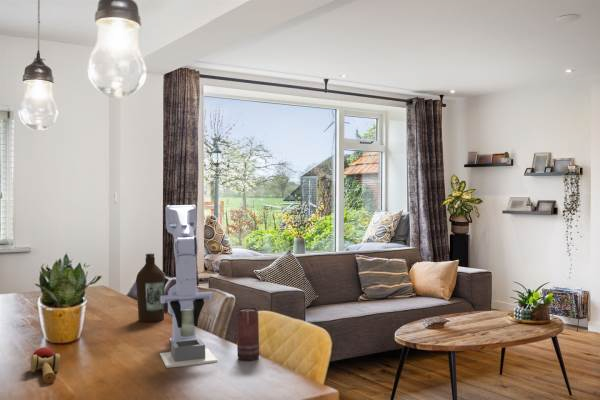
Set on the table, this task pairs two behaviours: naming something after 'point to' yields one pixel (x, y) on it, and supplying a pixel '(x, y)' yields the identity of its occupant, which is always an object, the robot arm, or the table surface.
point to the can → (247, 334)
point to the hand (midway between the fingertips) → (187, 326)
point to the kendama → (45, 363)
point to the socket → (187, 353)
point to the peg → (187, 322)
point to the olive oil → (150, 291)
